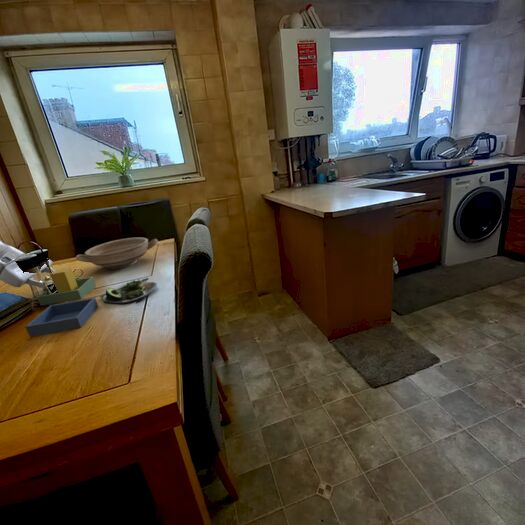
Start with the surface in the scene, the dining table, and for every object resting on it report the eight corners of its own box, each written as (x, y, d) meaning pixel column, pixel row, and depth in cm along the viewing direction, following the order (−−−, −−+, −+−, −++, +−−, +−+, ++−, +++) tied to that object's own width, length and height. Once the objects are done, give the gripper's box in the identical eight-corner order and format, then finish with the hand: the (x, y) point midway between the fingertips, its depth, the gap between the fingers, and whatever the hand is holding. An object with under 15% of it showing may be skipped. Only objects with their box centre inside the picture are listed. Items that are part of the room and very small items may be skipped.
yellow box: (60, 298, 106) (50, 274, 103) (66, 292, 111) (57, 269, 108) (73, 295, 107) (64, 271, 103) (79, 290, 112) (70, 267, 108)
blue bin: (31, 339, 81) (25, 326, 80) (55, 316, 94) (50, 305, 92) (82, 329, 83) (77, 317, 81) (99, 308, 95) (95, 297, 94)
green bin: (41, 307, 102) (36, 297, 101) (59, 292, 114) (56, 282, 113) (81, 300, 104) (77, 290, 102) (96, 286, 116) (92, 276, 114)
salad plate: (133, 281, 116) (130, 271, 114) (168, 282, 110) (166, 272, 108) (94, 304, 99) (89, 293, 97) (133, 307, 93) (130, 295, 91)
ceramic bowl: (158, 249, 160) (154, 232, 156) (164, 262, 135) (159, 242, 132) (86, 265, 146) (79, 247, 143) (77, 283, 122) (69, 262, 118)
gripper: (25, 258, 112) (60, 276, 116) (-14, 277, 92) (30, 298, 97) (33, 246, 111) (68, 265, 115) (-5, 263, 91) (38, 284, 96)
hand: (50, 280), depth 106 cm, fingers open, 8 cm apart
